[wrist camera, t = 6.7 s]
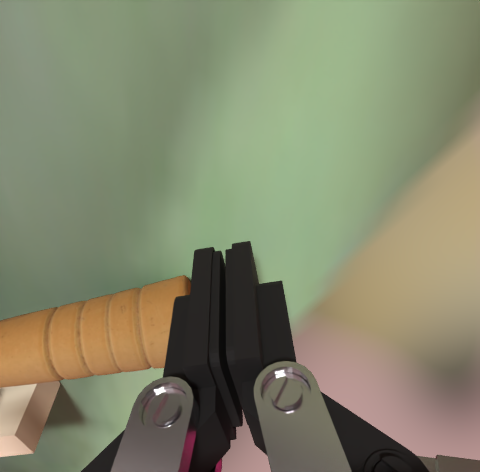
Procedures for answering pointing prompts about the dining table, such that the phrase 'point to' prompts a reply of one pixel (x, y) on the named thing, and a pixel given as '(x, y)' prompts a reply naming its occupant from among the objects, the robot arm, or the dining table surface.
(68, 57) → the dining table surface
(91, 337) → the kendama
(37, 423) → the lane
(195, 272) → the robot arm
